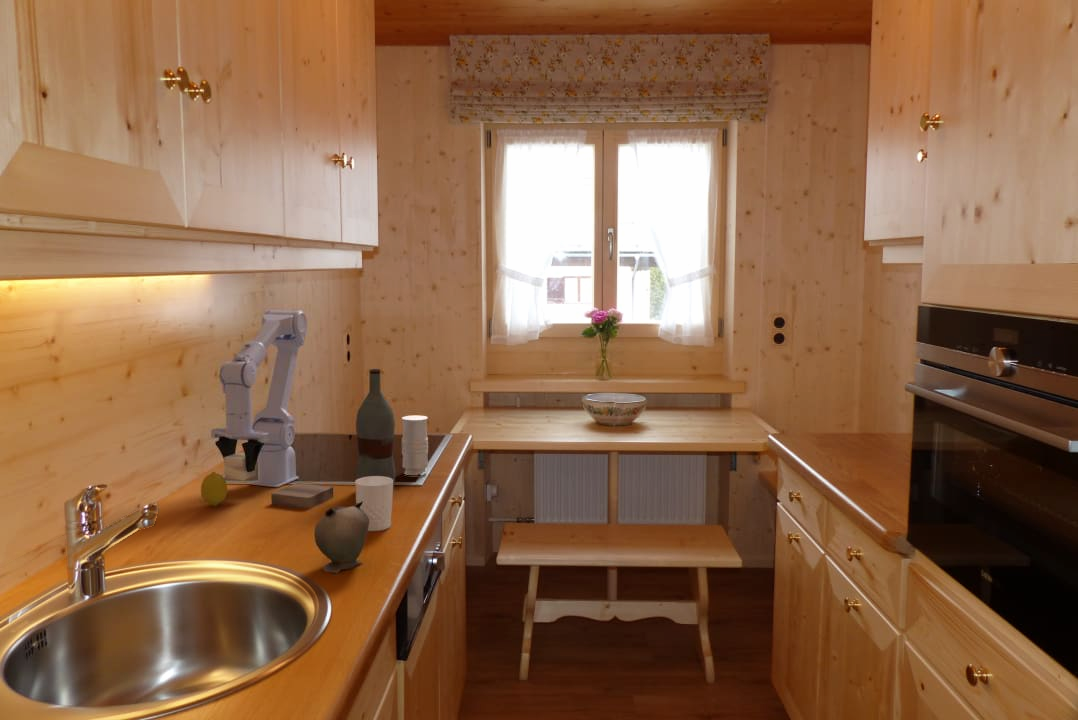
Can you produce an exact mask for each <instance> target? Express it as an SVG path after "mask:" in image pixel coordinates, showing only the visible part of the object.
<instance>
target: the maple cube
mask: <svg viewBox="0 0 1078 720" xmlns="http://www.w3.org/2000/svg"><path fill="white" fill-rule="evenodd" d="M223 463H224V464H223V467H224V469H223V470H224V479H225V480H226V479H227V480H233V481H235V480H236V481H245V480H248V479H250V478H253V477H256V476H257V465H256V466H255V470H254V471H252V472H247V470H246V458H245V453H244V452H235V454H233V455H230V456H227V457H224V459H223Z"/></svg>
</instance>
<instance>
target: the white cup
mask: <svg viewBox="0 0 1078 720" xmlns="http://www.w3.org/2000/svg"><path fill="white" fill-rule="evenodd" d="M354 486H355V487H354V488H355V490H354V491H355V503H356V504H355V505H357V503H361V502H362V501H363V503H362V505H361V506H360V509H361V510H362V511H363V512H364V513H365V514H366V515H367V517H368V518H369V519H370V520H369V527H368V531H367V532H381V531H385V530H387V529H389V528H390V527H391V525H392V512H393V494H394V488H393V479H391V478H389V477H384V476H369V477H363V478H359V479H357V478H356V480H355V481H354Z"/></svg>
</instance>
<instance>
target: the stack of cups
mask: <svg viewBox="0 0 1078 720" xmlns="http://www.w3.org/2000/svg"><path fill="white" fill-rule="evenodd" d="M401 421H402V437H401V455H402V464H401V465H402V468H404V470H405V471H404V473H403V475H404V474H406V475H418V474H421V473H423V472H425V471H426V468H428V467H429V460H428V454H429V442H428V441H429V437H428V416H426V415H414V414H413V415H406V416H402V417H401ZM406 475H405V476H406Z"/></svg>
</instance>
